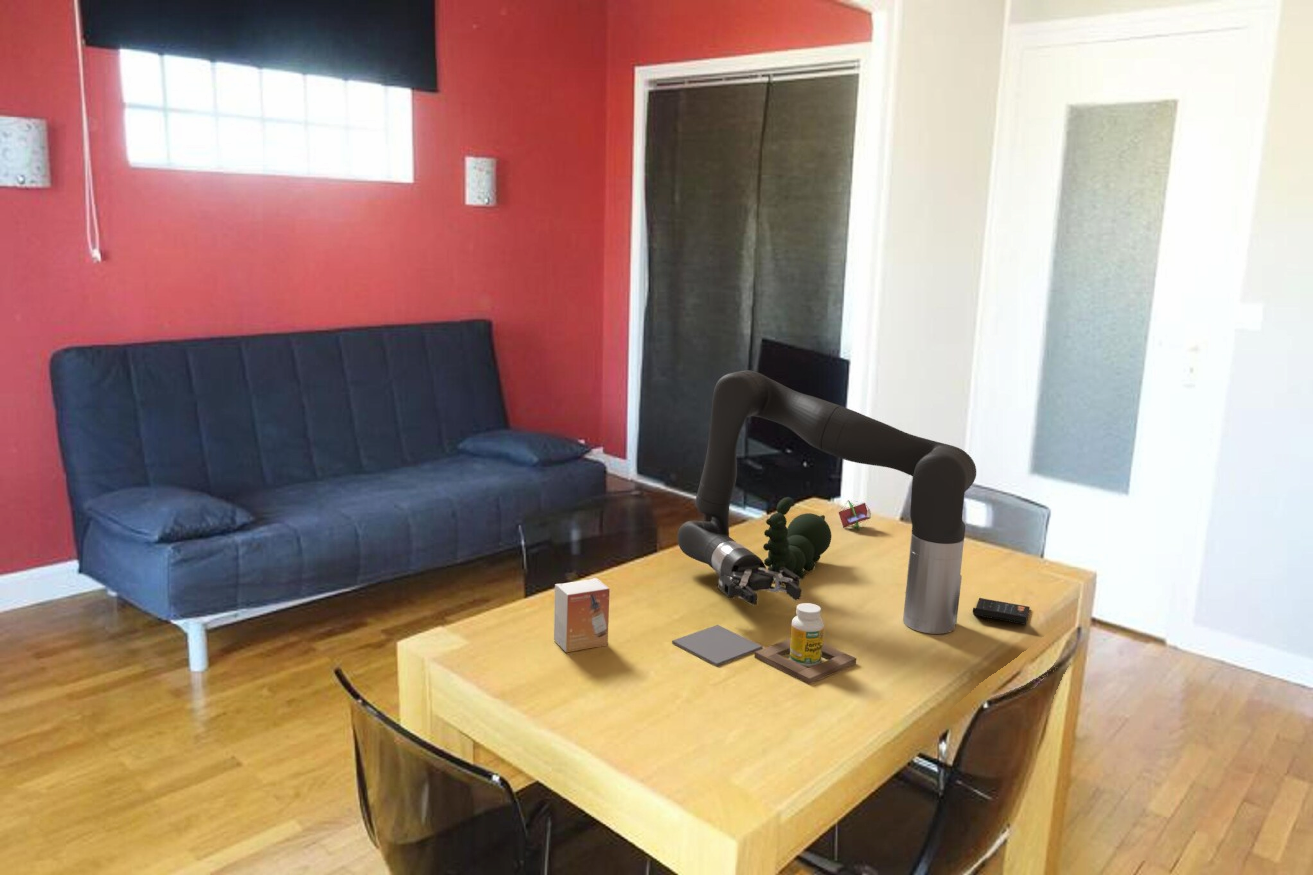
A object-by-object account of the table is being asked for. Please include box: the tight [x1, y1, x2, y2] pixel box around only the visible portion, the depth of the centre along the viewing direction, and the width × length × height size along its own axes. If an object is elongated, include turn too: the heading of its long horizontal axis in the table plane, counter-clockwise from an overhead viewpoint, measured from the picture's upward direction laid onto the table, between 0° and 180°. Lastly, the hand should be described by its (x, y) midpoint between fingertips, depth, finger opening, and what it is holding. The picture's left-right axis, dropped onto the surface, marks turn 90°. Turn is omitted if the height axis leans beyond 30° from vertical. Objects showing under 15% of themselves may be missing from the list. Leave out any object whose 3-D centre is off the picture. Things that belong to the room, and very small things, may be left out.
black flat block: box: [972, 597, 1031, 625], centre depth 188 cm, size 9×12×3 cm
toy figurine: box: [762, 496, 832, 580], centre depth 206 cm, size 9×19×25 cm
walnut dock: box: [754, 637, 857, 685], centre depth 167 cm, size 12×12×1 cm
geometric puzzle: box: [837, 499, 872, 531], centre depth 236 cm, size 7×7×8 cm
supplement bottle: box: [789, 602, 825, 668], centre depth 166 cm, size 5×5×10 cm
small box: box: [553, 577, 610, 653], centre depth 169 cm, size 8×6×10 cm
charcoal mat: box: [671, 624, 763, 667], centre depth 171 cm, size 11×11×1 cm
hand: (777, 597), depth 175 cm, fingers open, 8 cm apart
